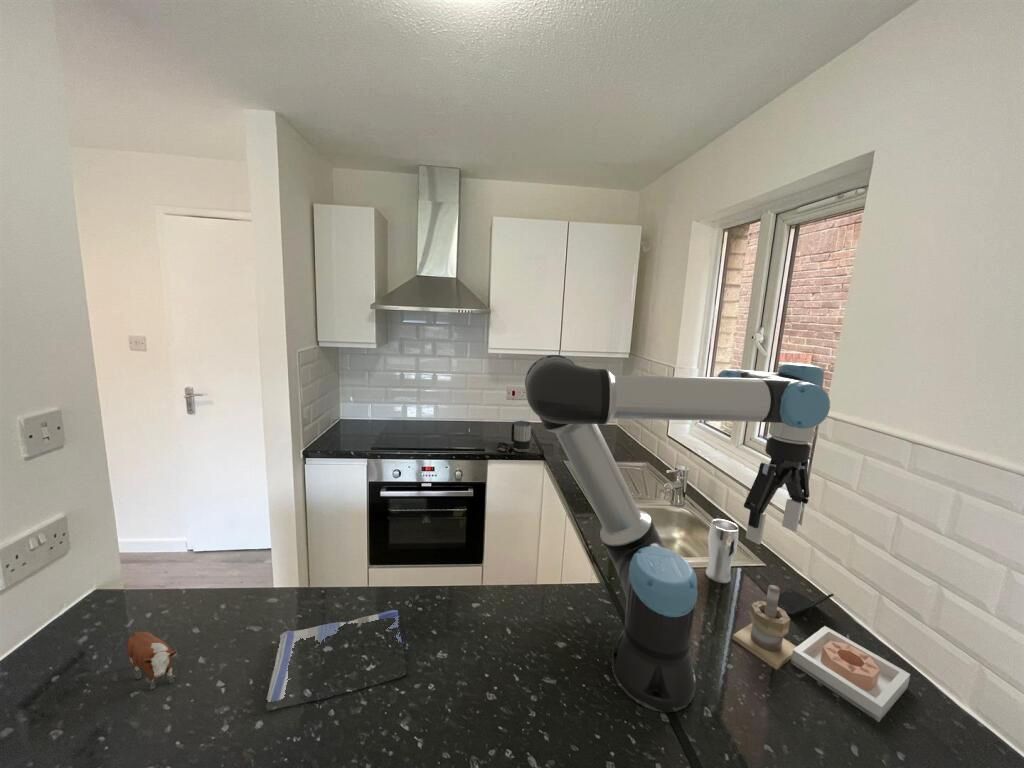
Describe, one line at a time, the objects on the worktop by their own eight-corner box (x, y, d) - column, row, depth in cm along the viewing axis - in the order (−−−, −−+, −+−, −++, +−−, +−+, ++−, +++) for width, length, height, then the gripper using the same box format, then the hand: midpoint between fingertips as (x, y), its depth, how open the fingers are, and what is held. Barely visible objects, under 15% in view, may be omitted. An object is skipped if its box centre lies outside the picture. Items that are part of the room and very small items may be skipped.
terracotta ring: (881, 678, 78) (884, 664, 78) (864, 696, 74) (867, 682, 74) (832, 649, 85) (835, 636, 85) (815, 664, 81) (817, 651, 81)
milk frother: (533, 451, 210) (535, 423, 208) (513, 457, 199) (514, 428, 196) (513, 444, 220) (515, 418, 217) (493, 450, 208) (494, 422, 206)
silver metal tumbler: (736, 586, 106) (743, 533, 104) (707, 582, 107) (714, 529, 105) (727, 571, 113) (734, 520, 110) (701, 566, 114) (707, 517, 112)
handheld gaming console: (781, 581, 107) (812, 567, 100) (804, 608, 103) (838, 595, 97) (762, 604, 100) (795, 590, 93) (787, 633, 97) (822, 621, 90)
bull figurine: (154, 710, 66) (149, 666, 65) (125, 670, 73) (120, 630, 72) (186, 690, 70) (182, 648, 69) (156, 654, 77) (152, 615, 76)
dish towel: (281, 639, 82) (280, 627, 82) (400, 616, 90) (400, 605, 90) (260, 718, 66) (259, 703, 66) (408, 681, 74) (408, 668, 74)
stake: (776, 669, 80) (786, 608, 78) (732, 638, 88) (740, 581, 86) (798, 652, 85) (809, 594, 83) (755, 624, 92) (763, 570, 90)
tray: (878, 722, 70) (882, 707, 70) (790, 662, 82) (792, 649, 82) (907, 687, 78) (910, 674, 77) (822, 638, 89) (824, 625, 89)
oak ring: (776, 640, 81) (778, 627, 81) (744, 619, 87) (746, 607, 86) (792, 629, 85) (794, 616, 84) (760, 610, 90) (762, 597, 89)
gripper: (801, 430, 93) (785, 516, 96) (734, 438, 81) (718, 537, 84) (840, 439, 86) (821, 532, 89) (773, 449, 74) (755, 556, 77)
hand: (771, 534), depth 87 cm, fingers open, 13 cm apart
